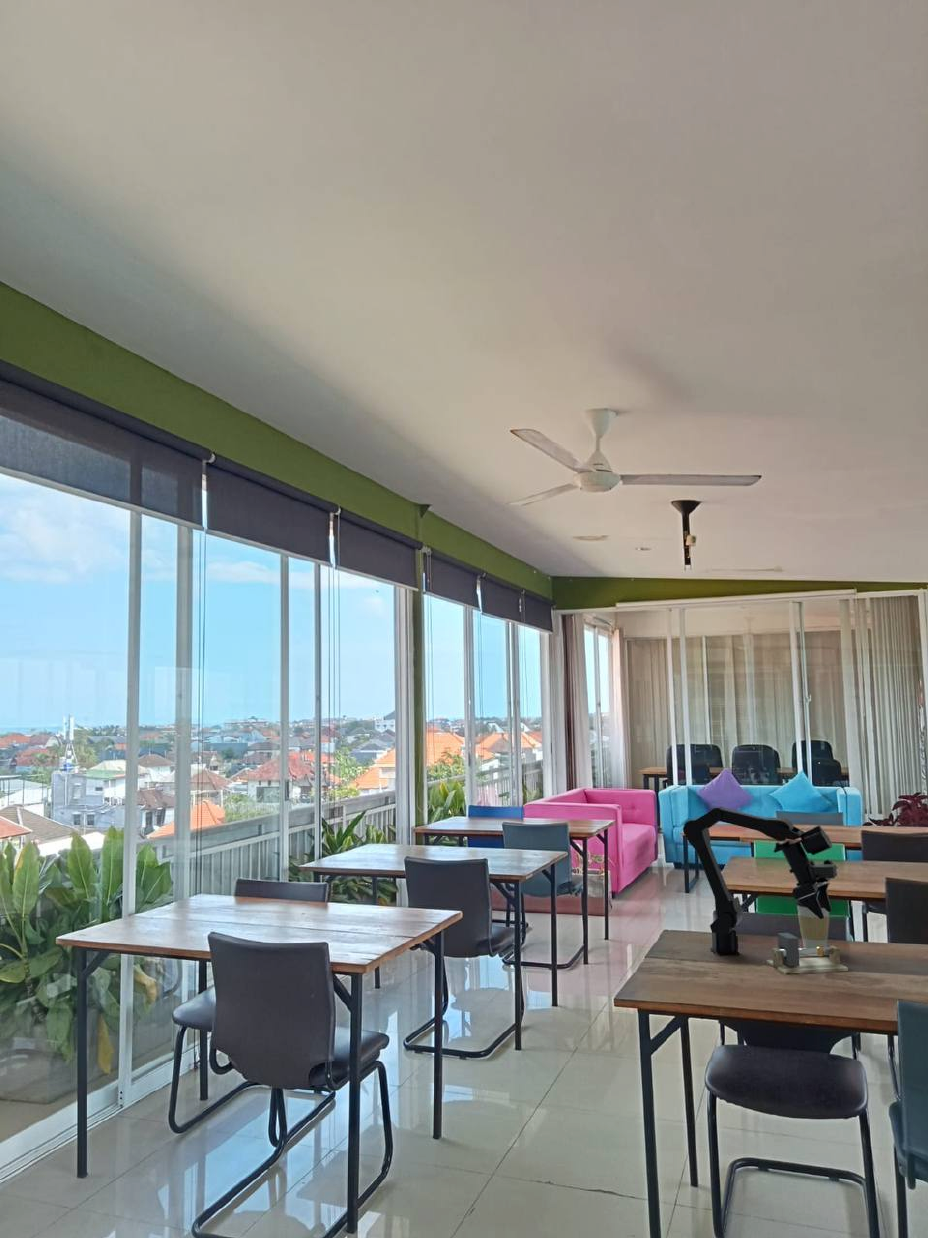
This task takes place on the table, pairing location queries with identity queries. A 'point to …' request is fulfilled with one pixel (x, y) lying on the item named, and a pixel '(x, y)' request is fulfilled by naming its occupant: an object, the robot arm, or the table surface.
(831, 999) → the table surface
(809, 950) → the rod
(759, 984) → the table surface
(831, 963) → the stand
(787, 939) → the collar
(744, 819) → the robot arm
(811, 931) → the coffee cup
